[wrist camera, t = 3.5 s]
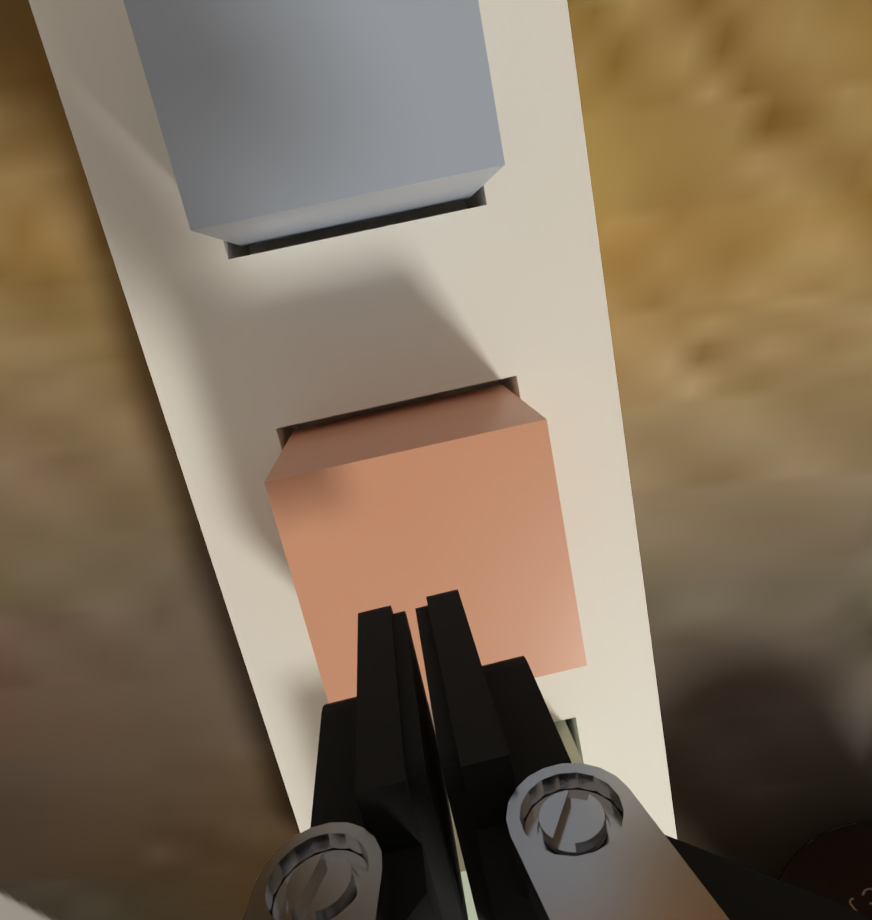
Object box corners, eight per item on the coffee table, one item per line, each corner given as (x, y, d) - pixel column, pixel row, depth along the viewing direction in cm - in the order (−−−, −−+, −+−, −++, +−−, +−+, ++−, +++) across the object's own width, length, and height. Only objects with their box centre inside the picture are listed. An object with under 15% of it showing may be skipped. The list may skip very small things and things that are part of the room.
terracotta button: (502, 384, 18) (546, 418, 14) (536, 574, 20) (587, 665, 15) (293, 430, 18) (264, 482, 14) (344, 618, 20) (335, 724, 15)
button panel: (506, -90, 18) (541, -190, 14) (638, 799, 27) (683, 886, 23) (80, -7, 18) (0, -87, 14) (349, 870, 26) (345, 970, 22)
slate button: (421, -67, 16) (440, -225, 11) (468, 198, 17) (505, 164, 12) (171, -18, 15) (77, -157, 11) (242, 246, 17) (190, 230, 12)
